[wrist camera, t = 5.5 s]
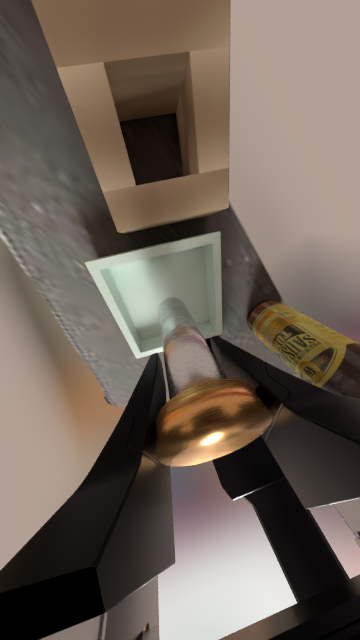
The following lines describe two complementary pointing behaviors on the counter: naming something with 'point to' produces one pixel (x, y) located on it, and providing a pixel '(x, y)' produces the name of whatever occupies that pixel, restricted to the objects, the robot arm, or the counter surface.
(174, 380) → the orange-capped jar
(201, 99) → the block
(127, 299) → the sage tray
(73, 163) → the counter surface
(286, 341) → the sauce bottle
